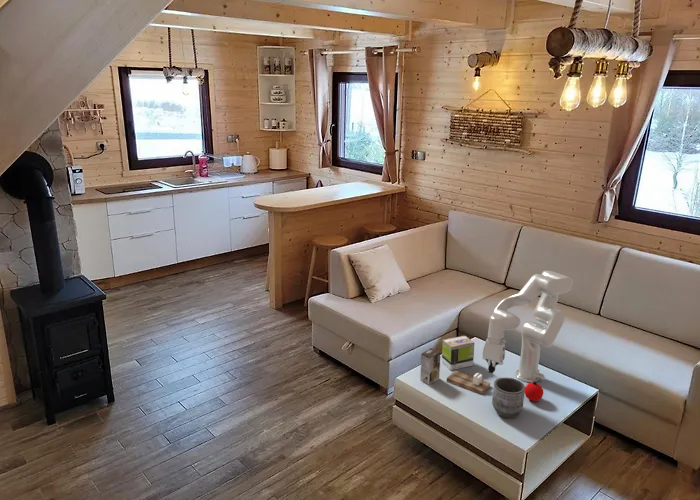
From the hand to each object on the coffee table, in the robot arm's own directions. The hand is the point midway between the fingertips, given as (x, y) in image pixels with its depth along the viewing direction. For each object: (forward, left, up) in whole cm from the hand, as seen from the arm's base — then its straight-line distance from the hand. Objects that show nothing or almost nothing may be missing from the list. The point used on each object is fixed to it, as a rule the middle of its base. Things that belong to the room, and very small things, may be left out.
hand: (491, 372), depth 264 cm
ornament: (-20, -8, -12) cm, 24 cm away
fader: (+7, -1, -9) cm, 12 cm away
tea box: (+26, -16, -12) cm, 33 cm away
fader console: (+12, -1, -12) cm, 17 cm away
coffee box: (+30, +8, -12) cm, 34 cm away
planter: (-14, +11, -12) cm, 21 cm away
